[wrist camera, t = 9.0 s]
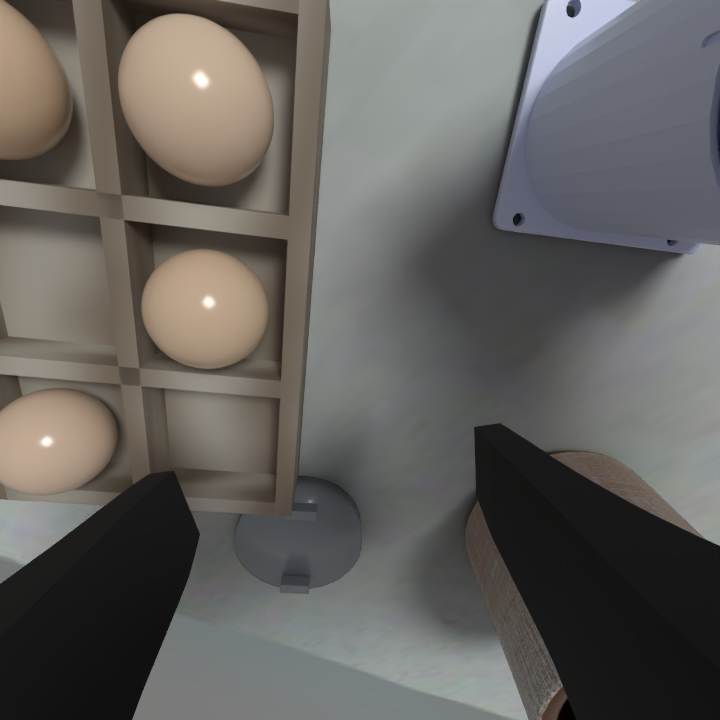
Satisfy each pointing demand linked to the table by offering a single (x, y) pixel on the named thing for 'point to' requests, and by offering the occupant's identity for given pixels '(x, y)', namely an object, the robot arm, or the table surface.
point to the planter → (506, 605)
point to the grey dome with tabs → (302, 539)
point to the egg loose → (205, 308)
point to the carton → (156, 244)
